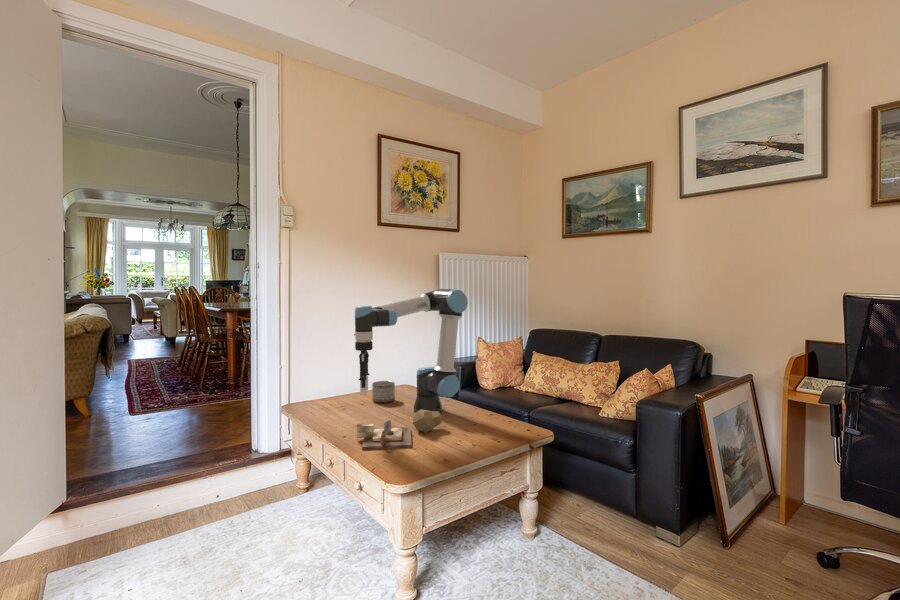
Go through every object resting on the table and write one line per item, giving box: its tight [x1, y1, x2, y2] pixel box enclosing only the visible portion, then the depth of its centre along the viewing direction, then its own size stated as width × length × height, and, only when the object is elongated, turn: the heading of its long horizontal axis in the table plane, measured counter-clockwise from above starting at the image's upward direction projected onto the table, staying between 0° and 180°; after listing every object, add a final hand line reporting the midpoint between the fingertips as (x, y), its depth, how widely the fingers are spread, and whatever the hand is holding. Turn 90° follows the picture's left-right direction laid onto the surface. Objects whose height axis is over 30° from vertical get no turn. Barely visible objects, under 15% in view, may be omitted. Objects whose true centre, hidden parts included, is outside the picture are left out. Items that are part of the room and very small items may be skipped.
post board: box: [361, 419, 412, 451], centre depth 189 cm, size 20×22×8 cm
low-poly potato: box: [412, 409, 443, 434], centre depth 200 cm, size 15×11×12 cm
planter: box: [371, 380, 396, 404], centre depth 250 cm, size 13×13×10 cm
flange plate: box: [356, 423, 403, 441], centre depth 188 cm, size 19×12×5 cm, turn 97°
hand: (364, 392), depth 193 cm, fingers open, 7 cm apart
